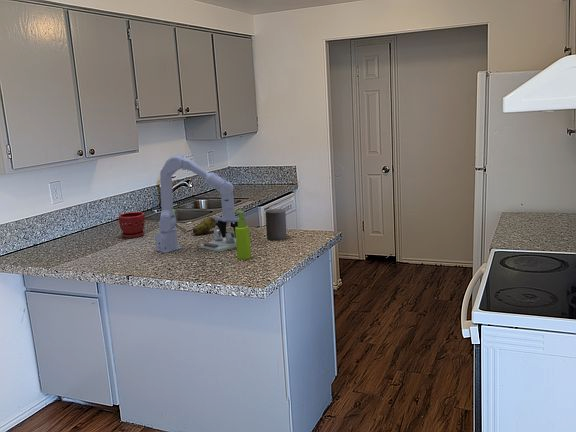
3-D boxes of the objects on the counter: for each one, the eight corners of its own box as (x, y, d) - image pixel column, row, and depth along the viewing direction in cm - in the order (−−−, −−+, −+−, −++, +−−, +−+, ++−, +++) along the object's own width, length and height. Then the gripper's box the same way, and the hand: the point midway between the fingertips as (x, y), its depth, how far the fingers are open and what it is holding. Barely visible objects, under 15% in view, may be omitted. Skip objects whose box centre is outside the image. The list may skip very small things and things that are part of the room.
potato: (191, 233, 290) (189, 218, 289) (215, 230, 294) (214, 215, 293) (194, 236, 282) (192, 221, 281) (218, 233, 286) (217, 218, 285)
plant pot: (116, 239, 287) (113, 216, 285) (129, 233, 300) (126, 211, 298) (139, 239, 284) (136, 216, 282) (151, 233, 297) (148, 211, 295)
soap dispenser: (242, 254, 240) (238, 209, 236) (254, 256, 236) (250, 210, 232) (232, 258, 236) (228, 211, 232) (244, 260, 231) (240, 213, 228)
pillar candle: (264, 240, 264) (262, 209, 261) (270, 235, 273) (268, 205, 270) (283, 241, 261) (281, 209, 258) (289, 236, 270) (288, 205, 267)
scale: (219, 251, 248) (218, 246, 247) (199, 247, 259) (198, 242, 258) (247, 243, 259) (246, 239, 259) (227, 240, 270) (226, 235, 269)
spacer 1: (220, 241, 260) (219, 231, 259) (213, 241, 261) (212, 230, 260) (224, 239, 263) (223, 229, 262) (216, 239, 265) (216, 229, 264)
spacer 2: (231, 244, 253) (230, 233, 252) (224, 243, 255) (223, 232, 254) (236, 242, 256) (235, 231, 255) (230, 241, 259) (229, 230, 258)
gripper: (210, 209, 254) (213, 238, 256) (235, 210, 246) (237, 240, 249) (220, 206, 260) (222, 234, 262) (244, 208, 252) (247, 237, 254)
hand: (230, 237), depth 256 cm, fingers open, 7 cm apart
